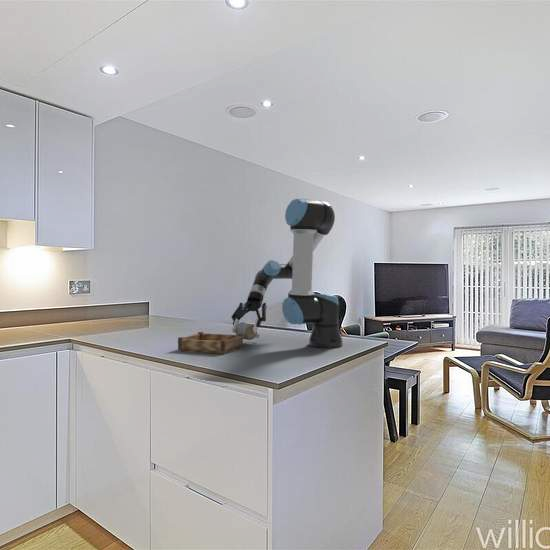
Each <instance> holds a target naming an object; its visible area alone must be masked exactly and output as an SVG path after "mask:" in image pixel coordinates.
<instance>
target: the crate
mask: <svg viewBox="0 0 550 550" xmlns="http://www.w3.org/2000/svg"><path fill="white" fill-rule="evenodd" d="M242 346H243V347H244V339H243V334H238V335H236V334H223V333H221V334H220V333H205V332H204V331H199V332H197V333H196V334H191V335H188V336H184V337H183V336H179V337H177V351H178V350H181V351H180V352H186V351H193V352H192V353H199V352H206V353H205V354H213V353H216V354H215V355H226V353H227V354H229V353H231V351H232V352H233V350H234V351H236V350H239V349H240V347H241V348H243V347H242ZM238 348H239V349H238ZM235 349H236V350H235ZM228 352H229V353H228Z"/></svg>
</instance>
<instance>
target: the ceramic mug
mask: <svg viewBox="0 0 550 550" xmlns="http://www.w3.org/2000/svg"><path fill="white" fill-rule="evenodd" d="M253 327H254V325H253V323H252V324H251V323H247V322H239V324H238V325H237V327H236V331H235V335H238V334H243V340H248V341H251V340H254V339H255V338H256V339H259V338H260V334H259V333H258V330H257V331H256V334H254V332H253Z"/></svg>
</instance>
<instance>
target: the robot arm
mask: <svg viewBox="0 0 550 550" xmlns="http://www.w3.org/2000/svg"><path fill="white" fill-rule="evenodd" d="M285 209H286V210H285V214H284V220H285V222H286V224H287V225H288V226H289V228H290V232H291V233H292V234H293V244H292V245H293V246H292V255H291V257H290V259H289V260H288V262H287V263H280V262H279V261H278V260H275V259H270V260H268V261H267V262H266V263H265V264H264V265H263V267H262V269H261V270H258V271H257V273H256V275H255V277H254V280H253V283H252V286H251V288H250V289H249V294H248V296H247V299H246V301H245V303H243V302H239V305H238V307H237V308H236V309H235V310H234V311H233V313H232V315H231V319H232V329H231V331H232V332H233V334H236V332H235V331H236V327H237V325H238V324H239V323H240V320H241V319H242V318H243V317H244V316H245V315H246V314H248V313H250V312H255V314H256V315H257V318H256V319H255V321H254V327H253V332H254V334H256V331H257V332H258V328H260V326H261V323H262V322H266V321H267V307H268V305H267V303H266V302H263V301H264V298H265V296H266V292H267V289H268V288H269V285H270V283H272V281H273V280H282V279H283V280H291V283H292V284H291V290H290V291H288V292H287V293H288V294H287V297H286V298H285V299H284V300H283V302H282V304H281V308H282V313H283V317H284V319H285V320H286V322H287V323H289V324H290V325H298V326H299V325H300V326H301V325H306V324H312V329H311V333H310V336H309V340H308V345H309V346H310V347H313V348H314V347H315V348H322V349H323V348H325V349H327V348H331V349H332V348H339V347H343V344H344V343H343V338H342V335H341V332H340V329H339V326H340V325H339V319H340V317H339V316H340V315H339V313H340V312H339V311H340V307H339V306H340V304H339V298H338V296H337V295H332V294H326V293H325V294H323V293H315V292H314V291H313V289H312V285H313V259H314V256H313V255H314V254H313V253H314V251H315V250H316V248H317V247H318V245H319V244H320V242H321V241H322V240H323V238H324V236H328V234H329V233H330V232H331V230H332V228H333V227H334V225H335V218H336V217H335V216H336V215H335V211H334V208H333V206H331V204H329V203H328V202H326V201H322V200H314V199H309V198H308V199H307V198H294V199H292V200H291V201H290V202H289V204H288V205H287V207H286V208H285ZM260 308H261V314H260V311H259V309H260Z"/></svg>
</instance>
